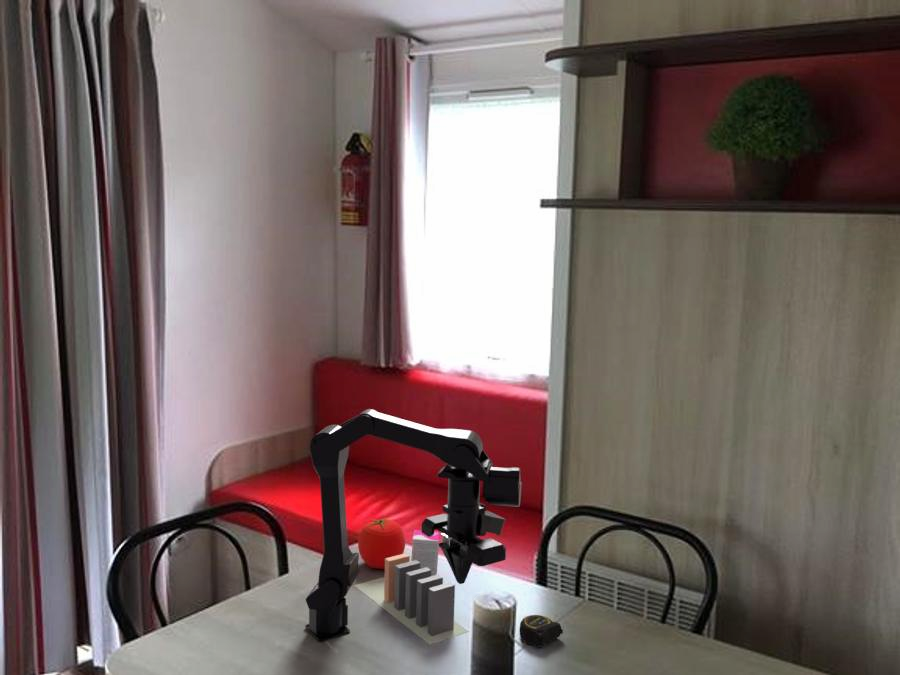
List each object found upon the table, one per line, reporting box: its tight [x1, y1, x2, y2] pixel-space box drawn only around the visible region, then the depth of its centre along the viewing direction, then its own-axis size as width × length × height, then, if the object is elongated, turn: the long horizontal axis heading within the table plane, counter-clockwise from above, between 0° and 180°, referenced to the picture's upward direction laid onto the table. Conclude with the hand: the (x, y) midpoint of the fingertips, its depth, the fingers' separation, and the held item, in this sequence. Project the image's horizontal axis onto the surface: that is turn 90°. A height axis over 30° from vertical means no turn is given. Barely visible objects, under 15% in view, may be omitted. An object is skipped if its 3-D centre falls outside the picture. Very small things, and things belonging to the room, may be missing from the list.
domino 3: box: [405, 567, 431, 619], centre depth 160 cm, size 5×2×9 cm, turn 126°
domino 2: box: [394, 560, 420, 611], centre depth 163 cm, size 5×2×9 cm, turn 126°
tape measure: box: [519, 614, 564, 648], centre depth 152 cm, size 7×7×4 cm
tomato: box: [357, 517, 406, 570], centre depth 183 cm, size 10×11×11 cm
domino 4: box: [416, 574, 444, 627], centre depth 157 cm, size 5×2×9 cm, turn 126°
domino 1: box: [384, 552, 411, 603], centre depth 166 cm, size 5×2×9 cm, turn 126°
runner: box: [353, 576, 469, 646], centre depth 163 cm, size 9×29×1 cm, turn 36°
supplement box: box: [410, 529, 441, 576], centre depth 173 cm, size 6×6×12 cm
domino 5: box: [427, 582, 456, 636], centre depth 154 cm, size 5×2×9 cm, turn 126°
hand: (460, 582), depth 148 cm, fingers closed
